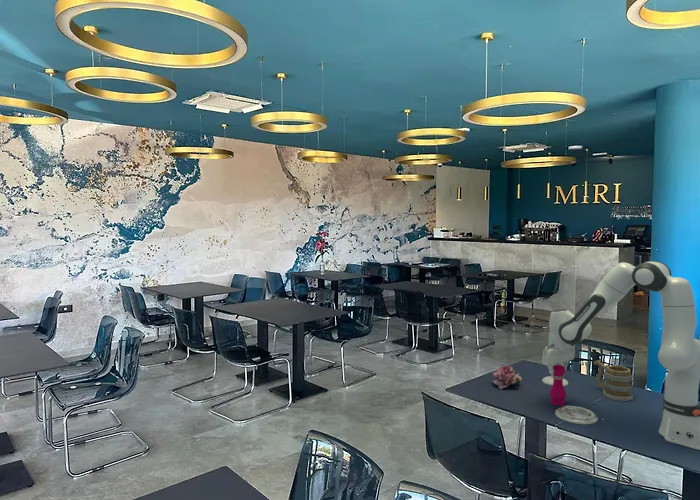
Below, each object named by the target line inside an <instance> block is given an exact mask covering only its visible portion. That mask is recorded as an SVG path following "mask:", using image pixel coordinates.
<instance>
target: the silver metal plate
mask: <svg viewBox="0 0 700 500" xmlns="http://www.w3.org/2000/svg"><path fill="white" fill-rule="evenodd" d="M554 412H555V413H554V415H555V416H556V417H557V419H559V420H562V421H564V422H567V423H570V424H574V425H575V424H576V425H584V426H585V425H594V424H596V423H598V421H599V419H598V418H599V417H598V415H597V414H596V413H594V412H593V411H592V410H590V409H587V408H585V407H583V406H582V407H581V406H575V405H562V406H559V407H557V408H556V409H555V410H554Z"/></svg>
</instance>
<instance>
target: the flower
mask: <svg viewBox="0 0 700 500" xmlns="http://www.w3.org/2000/svg"><path fill="white" fill-rule="evenodd" d="M515 373H516V370H515V368H513V366H511V365H510V364H509V365H508V364H507V365H502V366H499V368H498V369H496V371H493V376H494V377H495V378H494V379H492V381H493V384H495V386H498V389H499V388H500V390H502V389H504V388H507V387H509V386H510V385H514V384H515V383H516V385H515V388H517V387H518V385H519V383H521V381H523V378H522V376H521V375H520V372H519V373H516V374H515Z"/></svg>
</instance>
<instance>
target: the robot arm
mask: <svg viewBox="0 0 700 500" xmlns="http://www.w3.org/2000/svg"><path fill="white" fill-rule="evenodd" d="M634 286H637V287H638V288H641V289H644V290H646V291H651V292H652V291H653V292H656V293H657V292H658V294H659V295H660V300H661V301H660V302H661V311H662V313H661V314H662V333H661V342H660V349H659V351H658V353H657V358H658V359H657V360H658V362H659V363H660V365H661V366H662V367H663V368H665V369H666V370H668V371H667V374H666V377H665V379H664V397H663V398H662V400H663V401H662V412H663V413H662V419H661V423H660V425H659V429H658V433H659V434H660V435H661V436H662V437H663V438H664V440H665V441H666V442H669V443H672V444H677V445H680V446H684V447H686V448H690V449H695V450H697V451H700V404H699V386H700V340H699V339H697V338H695V333H696V332H695V331H696V330H697V329H696V328H697V312H696V304H695V296H694V293H693V292H694V291H693V288H692V285H691V283H690V281H689V280H688V279H686V278H683V277H679V276H677V277H676V276H675V277H674V276H672V270H671V268H670V267H669V266H668V265H667V264H665V263H663V262H662V261H661V262H660V261H653V260H652V261H645V262H643V263H640V264H638V265H636V266H634V265H633V264H631V263H628V262H624V261H623V262H618V263H617V264H616V265H614V266H613V267H612V268H611V269H610V270H609V271H608V272H607V273H606V274H605V275H604V277H602V279H601V280H600V281H599V283H598V284H597V286H596V288H595V289H594V291H593V292H592V294H591V295H590V297H589V298H588V300H587V301H586V302H585V303H584V304H583V306H582V307H581V308H580V309H579V310H578V311H577V312H576V314H574V313H572V312H571V311H569V309H567V308H557V309H554V310H552V311H551V312H550V315H549V321H548V322H549V323H548V328H549V334H548V345H546V346H545V347H544V348H543V351H542V356H541V363H542V365H544V366H546V367H547V368H548V371H549V372H548V373H549V374H551V375H552V374H554V370H553V365H555V364H559V363H560V364H562V366H563V367H564V368H565V371H567V368H568V366H569V364H570V363H569V361H572V360H575V357H576V356H575V355H576V354H575V353H576V345H577V344H579V342H582V341H583V340H585V339H587V338H589V337H590V335H591V334H592V332H593V327H592V324H591V322H592V321H593V320H594V318H596V317H597V315H598V314H600V313H601V312H602V311H604V310H606V309H608V308H610V307H612V306H614V305H616V304H618V303H619V302H620V301H622V299H623V298H624V297H626V295H627V294H628V293H629V291H630V290H631V289H632V288H633V287H634Z"/></svg>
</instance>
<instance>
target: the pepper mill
mask: <svg viewBox="0 0 700 500" xmlns="http://www.w3.org/2000/svg"><path fill="white" fill-rule="evenodd" d="M553 370H554V374H553V379H554V382H553V385H552V386H551V388H550V390H549V396H550V403H551V404H552V405H554V406H559V407H562V406H565V403H566V400H565V399H566V397H567V392H566V389H565V386H563V379H565V376H564V375H565V374H566V370H565V368H564V367H563V364H561V363H559V364H557V365H554V366H553Z"/></svg>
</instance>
